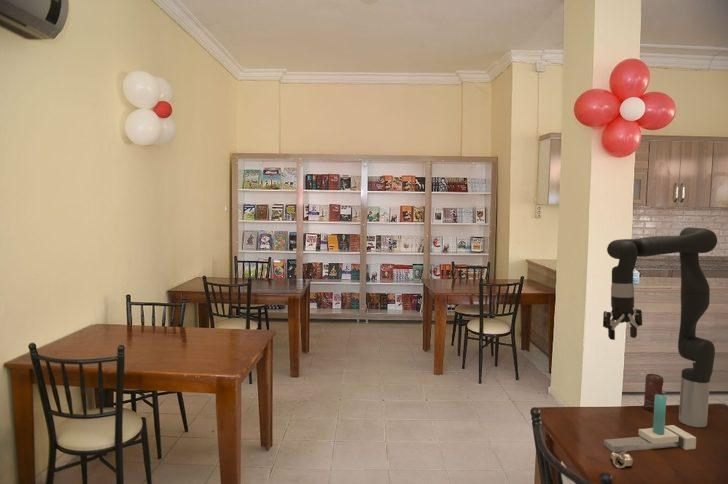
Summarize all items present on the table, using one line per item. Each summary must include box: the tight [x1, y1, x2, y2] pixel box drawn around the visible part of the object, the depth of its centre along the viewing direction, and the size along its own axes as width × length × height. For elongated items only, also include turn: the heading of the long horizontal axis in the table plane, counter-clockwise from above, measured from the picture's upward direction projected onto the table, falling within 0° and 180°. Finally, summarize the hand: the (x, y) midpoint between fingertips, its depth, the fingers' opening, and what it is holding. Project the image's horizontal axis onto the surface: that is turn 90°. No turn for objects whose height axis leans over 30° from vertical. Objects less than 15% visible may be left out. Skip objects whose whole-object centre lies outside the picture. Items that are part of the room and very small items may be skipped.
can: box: [643, 373, 664, 413], centre depth 210 cm, size 6×6×14 cm
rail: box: [603, 436, 679, 453], centre depth 178 cm, size 25×5×2 cm, turn 101°
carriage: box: [637, 394, 679, 444], centre depth 179 cm, size 10×7×15 cm
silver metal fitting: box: [610, 451, 634, 469], centre depth 166 cm, size 8×7×4 cm
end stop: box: [665, 424, 697, 451], centre depth 181 cm, size 5×10×4 cm, turn 11°
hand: (622, 338), depth 188 cm, fingers open, 8 cm apart
